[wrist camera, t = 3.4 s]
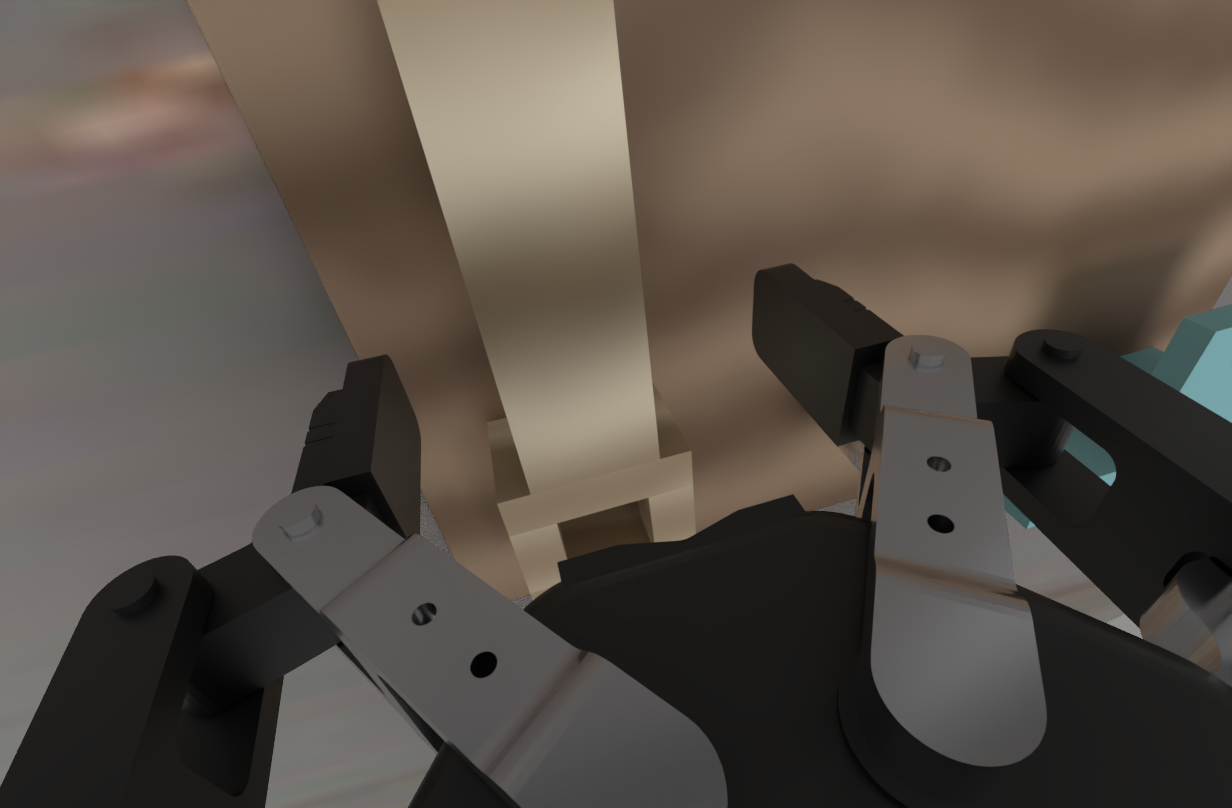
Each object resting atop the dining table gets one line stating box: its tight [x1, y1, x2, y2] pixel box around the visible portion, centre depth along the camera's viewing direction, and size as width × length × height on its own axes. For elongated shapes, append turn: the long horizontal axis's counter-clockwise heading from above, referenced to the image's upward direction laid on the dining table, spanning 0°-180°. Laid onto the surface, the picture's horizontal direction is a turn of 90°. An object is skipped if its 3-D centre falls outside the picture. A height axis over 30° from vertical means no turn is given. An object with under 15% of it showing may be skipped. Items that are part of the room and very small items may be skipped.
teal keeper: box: [1003, 304, 1232, 529], centre depth 23 cm, size 8×12×6 cm
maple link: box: [377, 0, 696, 600], centre depth 16 cm, size 18×6×4 cm, turn 7°
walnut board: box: [187, 0, 1232, 601], centre depth 20 cm, size 26×36×1 cm
